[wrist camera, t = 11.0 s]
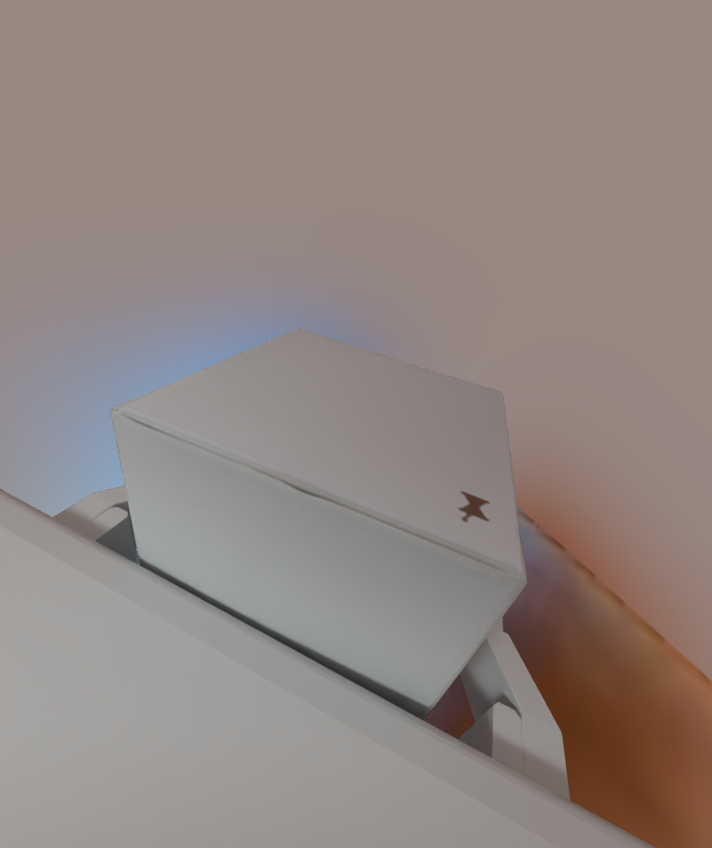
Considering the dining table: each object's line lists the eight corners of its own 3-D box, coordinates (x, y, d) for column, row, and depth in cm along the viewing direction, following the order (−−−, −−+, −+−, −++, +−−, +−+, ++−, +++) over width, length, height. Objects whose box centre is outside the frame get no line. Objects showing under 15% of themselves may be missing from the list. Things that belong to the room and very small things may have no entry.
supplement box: (402, 617, 17) (515, 390, 10) (349, 831, 11) (548, 596, 4) (271, 555, 18) (300, 321, 12) (158, 712, 12) (91, 400, 6)
